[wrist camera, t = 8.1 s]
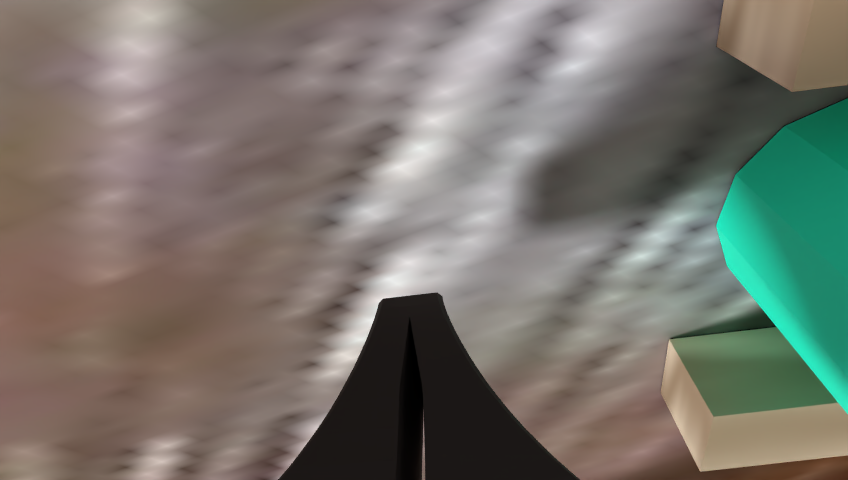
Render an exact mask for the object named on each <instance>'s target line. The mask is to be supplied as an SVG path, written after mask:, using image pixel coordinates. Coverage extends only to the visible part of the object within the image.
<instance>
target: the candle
mask: <svg viewBox="0 0 848 480" xmlns="http://www.w3.org/2000/svg"><path fill="white" fill-rule="evenodd" d="M716 227H717V231H718V235H719V238H720V242H721V246H722V249H723V253H724V256H725V260H726V264H727V266H728V268H729V269H730V270H731V271H732V273H733V274H734V275H735V276H736V278H737V279H738V280H739V281H740V282H741V284H742V285H743V286H744V287H745V289H746V290H747V291H748V292H749V294H750V295H751V296H752V297H753V298H754V300H755V301H756V302H757V303H758V305H759V306H760V307H761V308H762V310H763V311H764V312H765V313H766V314H767V316H768V317H769V318H770V319H771V321H772V322H773V323H774V324H775V326H776V327H777V328H778V329H779V330H780V332H781V333H782V334H783V335H784V337H785V338H786V339H787V340H788V342H789V343H790V344H791V345H792V346H793V348H794V349H795V350H796V351H797V353H798V354H799V355H800V356H801V358H802V359H803V360H804V361H805V362H806V364H807V365H808V366H809V367H810V369H811V370H812V371H813V372H814V374H815V375H816V376H817V377H818V378H819V380H820V381H821V382H822V383H823V385H824V386H825V387H826V388H827V390H828V391H829V392H830V393H831V394H832V396H833V397H834V398H835V399H836V401H837V402H838V403H839V404H840V406H841V407H842V408H843V409H844V410H845V412H846V413H847V414H848V98H847V99H845V100H842V101H840V102H838V103H836V104H833V105H831V106H829V107H827V108H824V109H822V110H820V111H817V112H815V113H813V114H811V115H808V116H806V117H804V118H802V119H799V120H797V121H795V122H793V123H790V124H788V125H786V126H784V127H783V128H782V129H781V130H780V131H779V132H778V133H777V134H776V135H775V136H774V137H773V138H772V139H771V140H770V141H769V142H768V143H767V144H766V145H765V146H764V147H763V148H762V149H761V150H760V151H759V152H758V153H757V154H756V155H755V156H754V157H753V158H752V159H751V160H750V161H749V162H748V163H747V164H746V165H745V166H744V167H743V168H742V169H741V170H740V171H739V172H738V173H737V174H736V175H735V177H734V180H733V182H732V185H731V188H730V190H729V193H728V196H727V198H726V201H725V203H724V206H723V209H722V211H721V214H720V217H719V219H718V222H717V225H716Z"/></svg>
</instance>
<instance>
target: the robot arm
mask: <svg viewBox="0 0 848 480" xmlns="http://www.w3.org/2000/svg"><path fill="white" fill-rule="evenodd" d="M423 408H424V435H425V480H580V479H579V478H577V477H576V476H575V475H574V474H573V473H571V472H570V471H569V470H568V469H567V468H566V467H565V466H564V465H562V464H561V463H560V462H559V461H558V460H557V459H556V458H554V457H553V456H552V455H551V454H550V453H549V452H548V451H547V450H546V449H545V448H544V447H543V446H542V445H541V444H540V443H539V442H538V441H537V440H536V439H535V438H534V437H533V436H532V435H531V434H530V433H529V432H528V431H527V430H526V429H525V428H524V427H523V426H522V424H521V423H520V422H519V421H518V420H517V419H516V418H515V417H514V415H513V414H512V413H511V412H510V411H509V410H508V408H507V407H506V406H505V405H504V404H503V402H502V401H501V400H500V399H499V398H498V396H497V395H496V394H495V392H494V391H493V390H492V388H491V387H490V386H489V384H488V383H487V382H486V380H485V379H484V377H483V376H482V374H481V373H480V372H479V370H478V369H477V367H476V366H475V364H474V362H473V361H472V359H471V358H470V356H469V354H468V353H467V351H466V349H465V348H464V346H463V344H462V342H461V341H460V339H459V337H458V335H457V333H456V331H455V329H454V327H453V325H452V323H451V321H450V319H449V316H448V314H447V312H446V309H445V306H444V303H443V298H442V296H441V295H440V294H438V293H428V294H420V295H411V296H403V297H395V298H386V299H383V300H382V301H381V302H380V303H379V305H378V309H377V312H376V315H375V319H374V321H373V324H372V327H371V330H370V332H369V335H368V337H367V340H366V342H365V344H364V346H363V349H362V351H361V353H360V355H359V357H358V360H357V362H356V364H355V366H354V368H353V370H352V372H351V374H350V376H349V377H348V379H347V381H346V383H345V385H344V387H343V389H342V390H341V392H340V394H339V396H338V398H337V399H336V401H335V403H334V404H333V406H332V408H331V409H330V411H329V412H328V414H327V416H326V417H325V419H324V420H323V422H322V423H321V425H320V426H319V428H318V429H317V431H316V432H315V434H314V435H313V436H312V438H311V439H310V440H309V442H308V443H307V444H306V446H305V447H304V448H303V450H302V451H301V452H300V454H299V455H298V456H297V458H296V459H295V460H294V462H293V463H292V464H291V465H290V467H289V468H288V469H287V470H286V471H285V472H284V474H283V475H282V476H281V477H280V478H279V479H278V480H422V448H423Z"/></svg>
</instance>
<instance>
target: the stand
mask: <svg viewBox="0 0 848 480" xmlns="http://www.w3.org/2000/svg"><path fill="white" fill-rule="evenodd" d="M717 47H718V48H720V49H722V50H723V51H725V52H727V53H728V54H730V55H732V56H733V57H735V58H736V59H738V60H740V61H741V62H743V63H745V64H746V65H748V66H750V67H751V68H753V69H755V70H756V71H758V72H760V73H761V74H763V75H765V76H766V77H768V78H770V79H771V80H773V81H775V82H776V83H778V84H780V85H781V86H783V87H785V88H786V89H788V90H790V91H791V92H796V91H804V90H812V89H820V88H828V87H836V86H844V85H848V0H724V3H723V9H722V15H721V21H720V28H719V34H718V40H717ZM661 394H662V396H663V398H664V400H665V402H666V404H667V406H668V408H669V410H670V412H671V414H672V416H673V418H674V420H675V422H676V424H677V426H678V428H679V430H680V432H681V434H682V436H683V438H684V440H685V442H686V444H687V446H688V448H689V450H690V452H691V454H692V456H693V458H694V460H695V462H696V464H697V466H698V468H699V470H700V472H702V471H711V470H720V469H729V468H738V467H747V466H756V465H765V464H774V463H783V462H792V461H801V460H810V459H819V458H828V457H837V456H846V455H848V414H847V413H846V412H845V410H844V409H843V408H842V407H841V406H840V404H839V403H838V402H837V401H836V399H835V398H834V397H833V396H832V394H831V393H830V392H829V391H828V390H827V388H826V387H825V386H824V385H823V383H822V382H821V381H820V380H819V378H818V377H817V376H816V375H815V374H814V372H813V371H812V370H811V369H810V367H809V366H808V365H807V364H806V362H805V361H804V360H803V359H802V358H801V356H800V355H799V354H798V353H797V351H796V350H795V349H794V348H793V346H792V345H791V344H790V343H789V342H788V340H787V339H786V338H785V337H784V335H783V334H782V333H781V332H780V330H779V329H778V328H777V327H772V328H763V329H754V330H746V331H737V332H729V333H720V334H711V335H703V336H694V337H685V338H677V339H669V344H668V350H667V356H666V362H665V368H664V375H663V381H662V387H661Z"/></svg>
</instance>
